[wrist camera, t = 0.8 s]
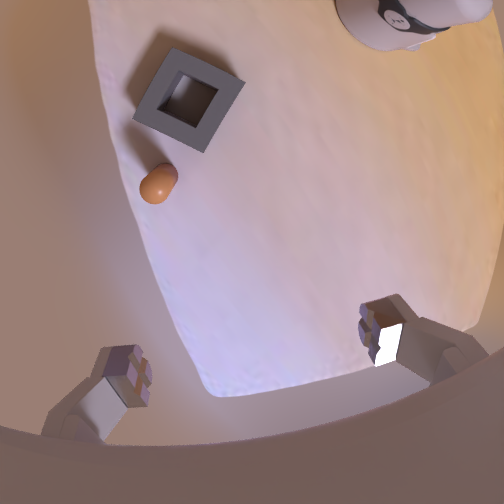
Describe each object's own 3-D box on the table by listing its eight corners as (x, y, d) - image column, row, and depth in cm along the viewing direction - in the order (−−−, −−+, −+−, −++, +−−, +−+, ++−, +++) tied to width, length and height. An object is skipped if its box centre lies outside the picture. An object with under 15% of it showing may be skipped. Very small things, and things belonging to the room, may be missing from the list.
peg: (159, 158, 42) (147, 168, 34) (182, 170, 43) (174, 182, 36) (148, 181, 43) (134, 196, 36) (171, 192, 44) (161, 209, 37)
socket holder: (177, 54, 34) (172, 47, 30) (243, 85, 38) (245, 82, 33) (141, 117, 38) (132, 118, 34) (205, 148, 42) (203, 153, 37)
